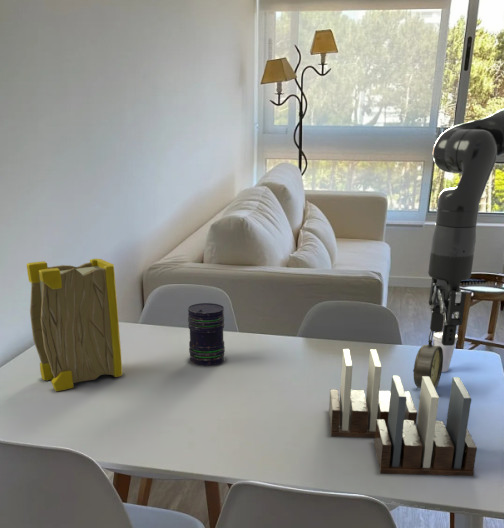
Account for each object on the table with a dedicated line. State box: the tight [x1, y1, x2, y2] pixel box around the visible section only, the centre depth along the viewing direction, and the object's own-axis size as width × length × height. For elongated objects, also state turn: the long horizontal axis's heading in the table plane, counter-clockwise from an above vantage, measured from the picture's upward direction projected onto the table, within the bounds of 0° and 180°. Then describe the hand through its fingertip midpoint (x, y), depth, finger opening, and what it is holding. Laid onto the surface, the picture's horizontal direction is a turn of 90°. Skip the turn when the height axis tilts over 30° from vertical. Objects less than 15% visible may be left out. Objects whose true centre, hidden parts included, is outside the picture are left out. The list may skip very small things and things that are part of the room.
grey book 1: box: [387, 375, 407, 467], centre depth 140 cm, size 1×11×15 cm, turn 177°
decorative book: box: [26, 258, 123, 392], centre depth 178 cm, size 20×11×30 cm, turn 124°
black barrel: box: [187, 302, 226, 367], centre depth 194 cm, size 10×10×15 cm
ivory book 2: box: [365, 348, 382, 431], centre depth 155 cm, size 1×11×15 cm, turn 177°
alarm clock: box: [412, 330, 443, 390], centre depth 173 cm, size 11×5×16 cm, turn 151°
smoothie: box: [432, 331, 459, 373], centre depth 188 cm, size 6×6×14 cm
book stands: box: [328, 388, 478, 477], centre depth 150 cm, size 27×29×6 cm
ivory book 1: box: [339, 348, 353, 431], centre depth 155 cm, size 1×11×15 cm, turn 177°
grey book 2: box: [445, 376, 472, 469], centre depth 140 cm, size 1×11×15 cm, turn 177°
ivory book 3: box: [416, 376, 440, 468], centre depth 140 cm, size 1×11×15 cm, turn 177°
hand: (441, 337), depth 133 cm, fingers open, 8 cm apart
